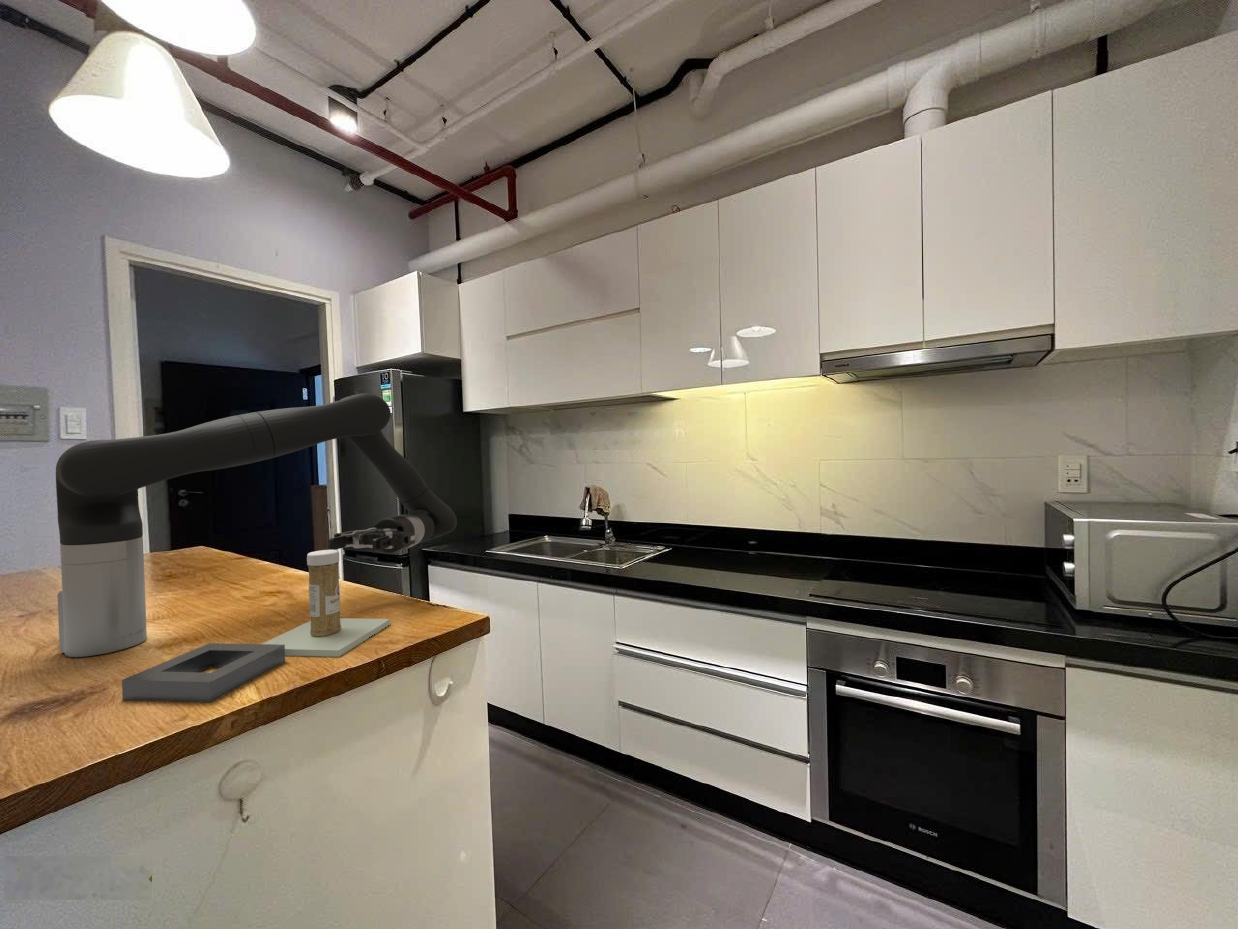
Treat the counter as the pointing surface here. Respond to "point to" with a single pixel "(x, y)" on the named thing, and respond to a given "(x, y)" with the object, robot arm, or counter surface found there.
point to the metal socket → (189, 685)
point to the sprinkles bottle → (324, 592)
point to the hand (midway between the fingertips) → (352, 544)
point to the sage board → (329, 638)
